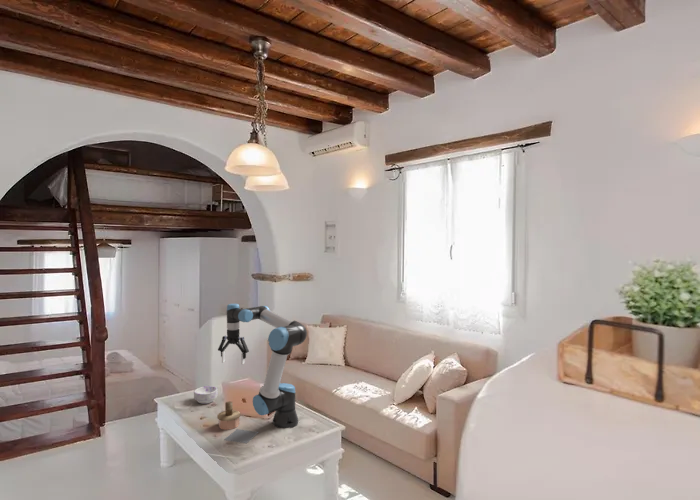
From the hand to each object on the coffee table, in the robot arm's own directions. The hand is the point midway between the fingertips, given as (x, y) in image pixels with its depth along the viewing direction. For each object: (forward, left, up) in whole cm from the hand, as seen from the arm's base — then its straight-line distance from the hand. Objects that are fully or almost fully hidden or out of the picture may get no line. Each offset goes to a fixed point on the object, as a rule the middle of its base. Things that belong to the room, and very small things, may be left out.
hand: (233, 362), depth 267 cm
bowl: (-6, +15, -33) cm, 36 cm away
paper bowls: (+30, -15, -33) cm, 47 cm away
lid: (-6, +15, -27) cm, 31 cm away
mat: (-20, +25, -33) cm, 46 cm away
